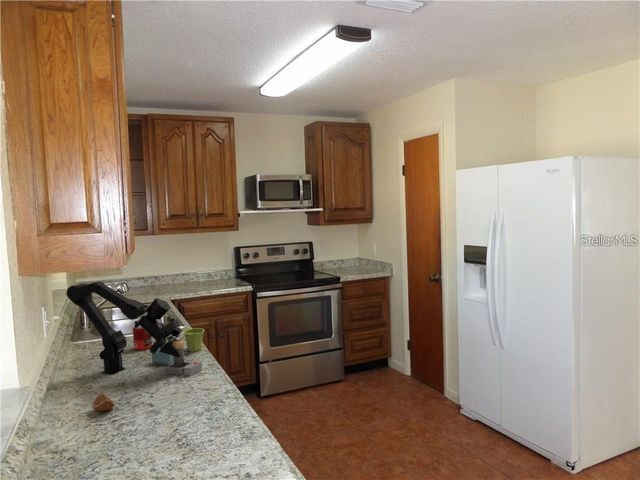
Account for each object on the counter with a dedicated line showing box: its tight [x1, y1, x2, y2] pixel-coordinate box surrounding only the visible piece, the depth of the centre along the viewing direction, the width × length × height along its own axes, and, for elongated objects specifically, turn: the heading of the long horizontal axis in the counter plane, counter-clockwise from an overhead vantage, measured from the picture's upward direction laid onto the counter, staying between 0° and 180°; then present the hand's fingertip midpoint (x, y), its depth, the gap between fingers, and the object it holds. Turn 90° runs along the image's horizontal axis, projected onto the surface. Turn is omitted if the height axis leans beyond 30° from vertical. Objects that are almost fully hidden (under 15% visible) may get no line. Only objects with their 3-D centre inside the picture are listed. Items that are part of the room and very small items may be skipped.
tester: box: [163, 360, 203, 377], centre depth 187 cm, size 8×12×4 cm, turn 68°
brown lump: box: [91, 391, 116, 412], centre depth 154 cm, size 8×7×5 cm
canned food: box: [132, 324, 153, 352], centre depth 221 cm, size 8×8×11 cm
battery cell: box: [172, 337, 185, 368], centre depth 188 cm, size 4×4×13 cm
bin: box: [151, 348, 174, 366], centre depth 201 cm, size 9×9×5 cm
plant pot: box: [182, 328, 205, 353], centre depth 215 cm, size 9×9×9 cm
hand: (182, 354), depth 188 cm, fingers closed on battery cell, 4 cm apart
